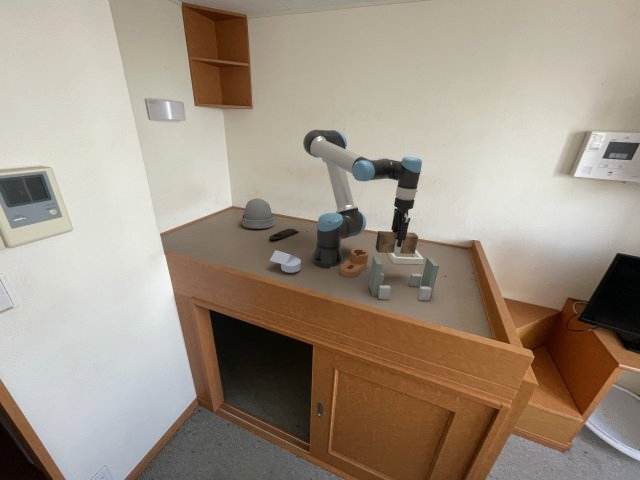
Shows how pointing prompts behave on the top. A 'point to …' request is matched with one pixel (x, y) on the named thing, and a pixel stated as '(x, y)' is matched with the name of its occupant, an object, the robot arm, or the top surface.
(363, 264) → the bracket
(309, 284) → the top surface
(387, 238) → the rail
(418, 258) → the frame
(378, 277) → the green fixture with posts
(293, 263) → the wedge on round base
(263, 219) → the beanie hat
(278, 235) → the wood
